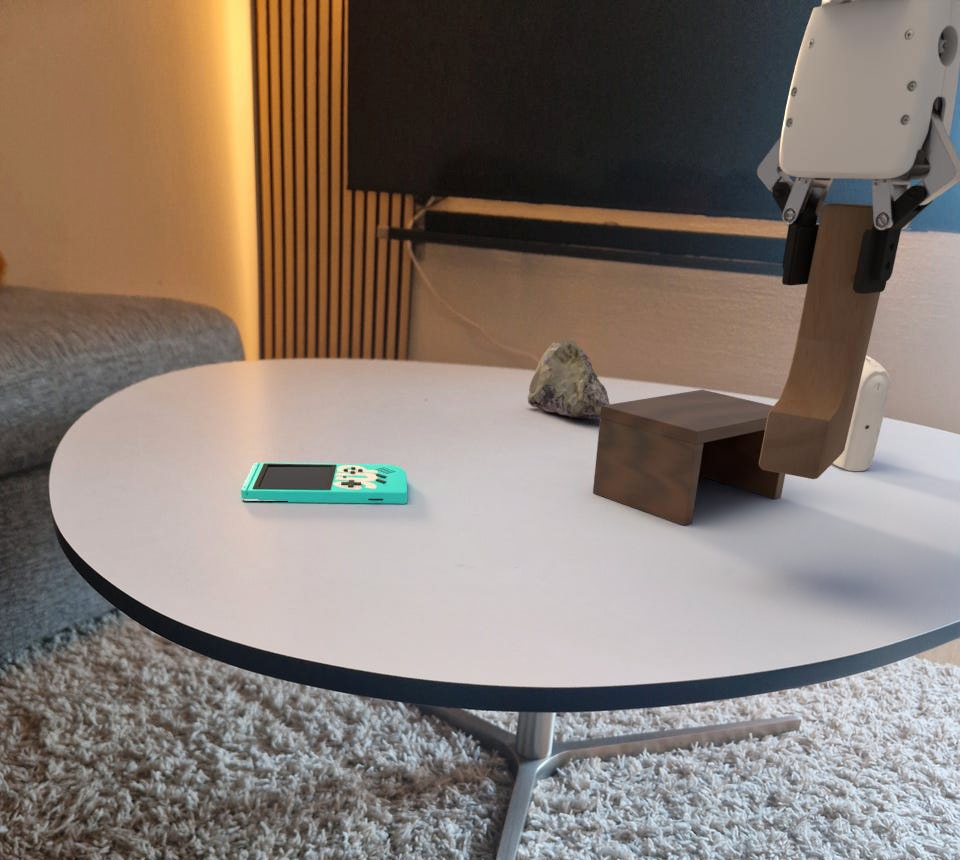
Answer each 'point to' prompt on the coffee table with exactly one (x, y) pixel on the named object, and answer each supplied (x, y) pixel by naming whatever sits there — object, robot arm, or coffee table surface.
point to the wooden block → (824, 352)
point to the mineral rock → (567, 383)
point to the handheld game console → (326, 483)
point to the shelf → (680, 451)
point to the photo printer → (866, 418)
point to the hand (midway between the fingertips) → (832, 285)
